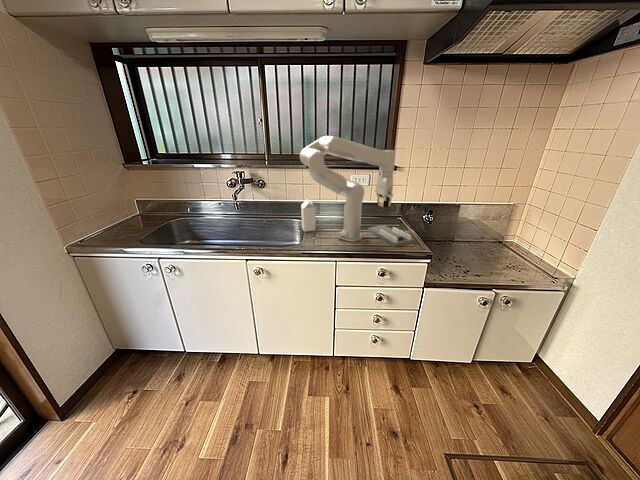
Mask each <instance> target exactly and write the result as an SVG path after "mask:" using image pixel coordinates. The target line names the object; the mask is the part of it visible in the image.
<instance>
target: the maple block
mask: <svg viewBox="0 0 640 480" xmlns="http://www.w3.org/2000/svg"><path fill="white" fill-rule="evenodd" d="M386 197H388V196H386ZM384 200H385V199H384V196H381V197H379V202H378V205H377V206H378V207H379V206H380V207H381V208H384V207H383V203H384ZM391 205H392V198H391V199H390V200H389V204H388V207H391ZM388 207H387V208H388Z"/></svg>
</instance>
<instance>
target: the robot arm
mask: <svg viewBox="0 0 640 480" xmlns="http://www.w3.org/2000/svg"><path fill="white" fill-rule="evenodd" d="M326 155H330V156H334V157H338V158H341V159H346V160H350V161H353V162H360V163H365V164H369V165H372V166H378V167H379V169H378V170H379V171H378V175H377V180H376V182H375V184H376V185H375V194H376V196H377V203H376V205H377V206H379V205H378V202H379V197H381V196H384V199H385V200H384V203H383V207H382V208H388V204H389V200H390V199H391V200H392V198H393V197H394V194H393V188H394V169H395V168H394V167H395V158H396V151H395V150H393V149H379V148H376V147H372V146H367V145H365V144H362V143H358V142H355V141H351V140H348V139H345V138H342V137H338V136H335V135H334V136H333V135H325V136H324V135H323V136H322V137H320V138H319V139H316V140H315V141H313V142H312V143H311V144H308V145H307V146H306V147H304V148H303V149H302V150H301V151H300V153H299V160H300V162H301V163H302V164H303V165H304V166H307V167H308V171H309V172H308V173H309V175H310V178H311V179H312V180H313V181H314V182H315V183H318V184H319V185H322V186H323V187H325V188H326V189H327V190H330V191H332V192H333V193H336V194H338V195H340V196H342V197H345V198H346V200H345V202H344V207H343V229H341V231H339V232H335V236H336V237H340V238H341V240H343V241H346V242H359V241H361V240H362V239H363V237H364V235H363V234H362V233H361V226H362V225H361V221H362V209H363V208H362V207H363V200H364V196H365V188H364V186H363V185H362V184H360V183H359V182H356V181H353V180H350V179H348V178H346V177H345V176H344V175H342V174H341V173H339V172H335V171H334V170H331V169H330V168H329V167H327V166H326V164H325V159H324V158H325V156H326ZM386 196H388V197H386Z"/></svg>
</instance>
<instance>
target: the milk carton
mask: <svg viewBox="0 0 640 480" xmlns="http://www.w3.org/2000/svg"><path fill="white" fill-rule="evenodd" d="M300 210H301V211H300V212H301V213H300V214H301V215H300V217H301V228H302V230H303V232H305V233H306V232H315V231H316V207H315V205H314V202H313V201H311V200H309V199H308V198H306V199H305V200H304V201H303V203H301V205H300Z"/></svg>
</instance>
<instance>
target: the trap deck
mask: <svg viewBox="0 0 640 480" xmlns="http://www.w3.org/2000/svg"><path fill="white" fill-rule="evenodd" d="M367 232H369V233H370V234H372V235H373V236H376V237H377V238H379V239H380V240H382V241H383V242H385V243H387V244H388V245H390V246H392V247H393V248H394V247H395V248H396V247H399V246H405V245H409V244H412V243H413V239H412V235H411V234H409V233H406V232H405V231H403V230H401V229H399V228H397V227H395V226H393V227H392V228H391V227H389V226H387V225H385V224H383V225H382V224H381V225H376V226H371V227H368V228H367Z"/></svg>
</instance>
